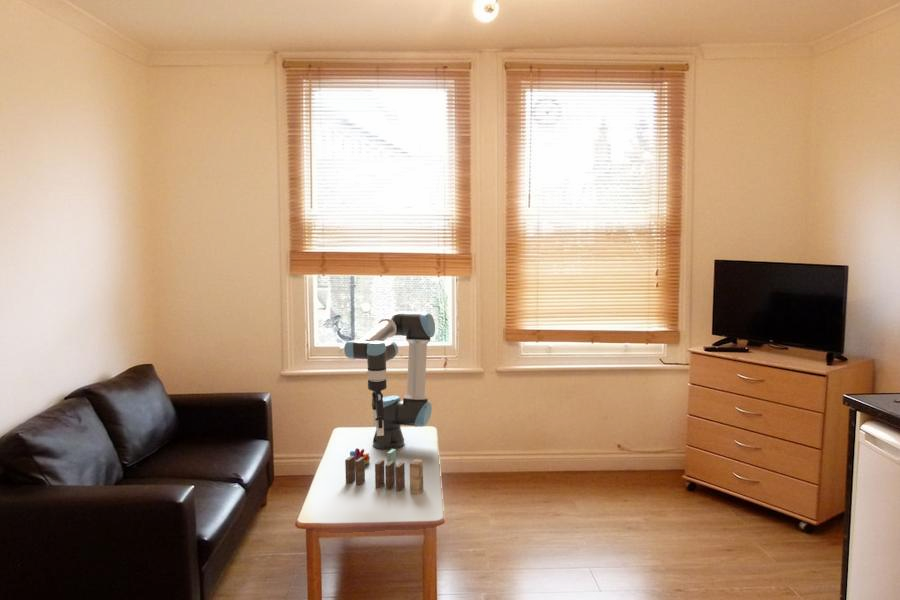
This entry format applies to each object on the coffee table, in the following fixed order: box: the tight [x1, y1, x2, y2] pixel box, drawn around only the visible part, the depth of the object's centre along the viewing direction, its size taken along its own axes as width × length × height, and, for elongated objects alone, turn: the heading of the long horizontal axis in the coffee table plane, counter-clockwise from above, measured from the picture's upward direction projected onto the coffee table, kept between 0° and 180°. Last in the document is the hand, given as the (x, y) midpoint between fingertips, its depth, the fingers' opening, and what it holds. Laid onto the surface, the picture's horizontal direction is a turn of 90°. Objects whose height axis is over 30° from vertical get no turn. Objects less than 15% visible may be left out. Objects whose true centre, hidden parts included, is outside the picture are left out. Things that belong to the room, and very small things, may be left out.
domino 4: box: [384, 461, 396, 491], centre depth 245 cm, size 2×5×10 cm, turn 160°
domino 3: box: [374, 459, 386, 489], centre depth 246 cm, size 2×5×10 cm, turn 160°
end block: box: [409, 458, 424, 495], centre depth 241 cm, size 5×4×12 cm
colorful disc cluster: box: [349, 448, 371, 465], centre depth 270 cm, size 8×10×7 cm
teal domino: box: [386, 448, 397, 474], centre depth 259 cm, size 2×5×10 cm, turn 160°
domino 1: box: [344, 455, 356, 485], centre depth 251 cm, size 2×5×10 cm, turn 160°
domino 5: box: [395, 461, 406, 492], centre depth 243 cm, size 2×5×10 cm, turn 160°
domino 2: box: [355, 457, 366, 486], centre depth 250 cm, size 2×5×10 cm, turn 160°
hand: (378, 430), depth 251 cm, fingers open, 13 cm apart
